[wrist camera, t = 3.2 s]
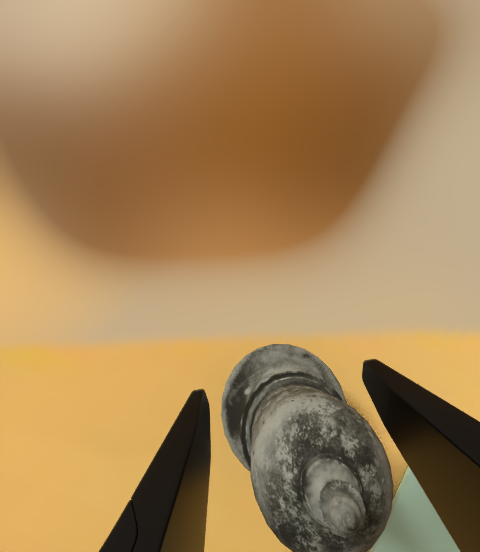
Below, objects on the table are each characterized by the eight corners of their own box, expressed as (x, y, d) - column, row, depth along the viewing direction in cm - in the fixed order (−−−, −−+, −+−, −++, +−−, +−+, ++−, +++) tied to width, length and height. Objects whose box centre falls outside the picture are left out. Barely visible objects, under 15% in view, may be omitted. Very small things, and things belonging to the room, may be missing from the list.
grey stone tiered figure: (347, 410, 14) (719, 607, 3) (269, 481, 13) (351, 1189, 2) (283, 329, 16) (351, 249, 5) (210, 386, 15) (73, 461, 4)
